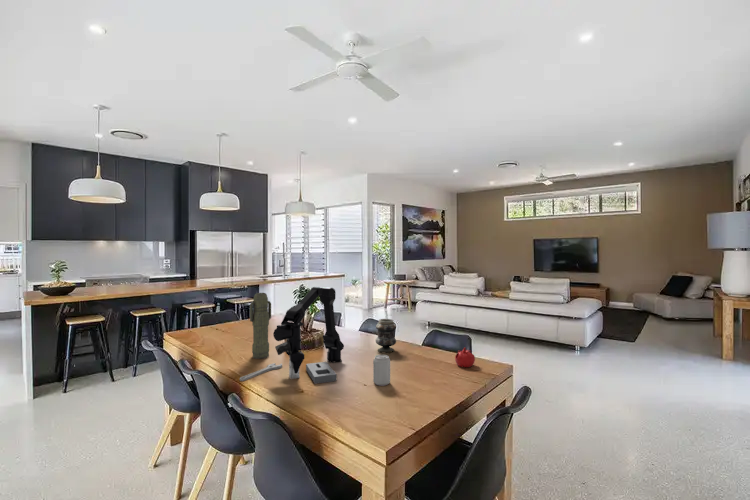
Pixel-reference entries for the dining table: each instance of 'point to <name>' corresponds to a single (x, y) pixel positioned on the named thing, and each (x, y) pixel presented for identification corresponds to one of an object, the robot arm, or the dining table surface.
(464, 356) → the pomegranate
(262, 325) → the thermos
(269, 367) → the adjustable wrench
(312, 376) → the socket plate
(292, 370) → the steel peg
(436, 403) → the dining table surface
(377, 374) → the can
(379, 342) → the apothecary jar
